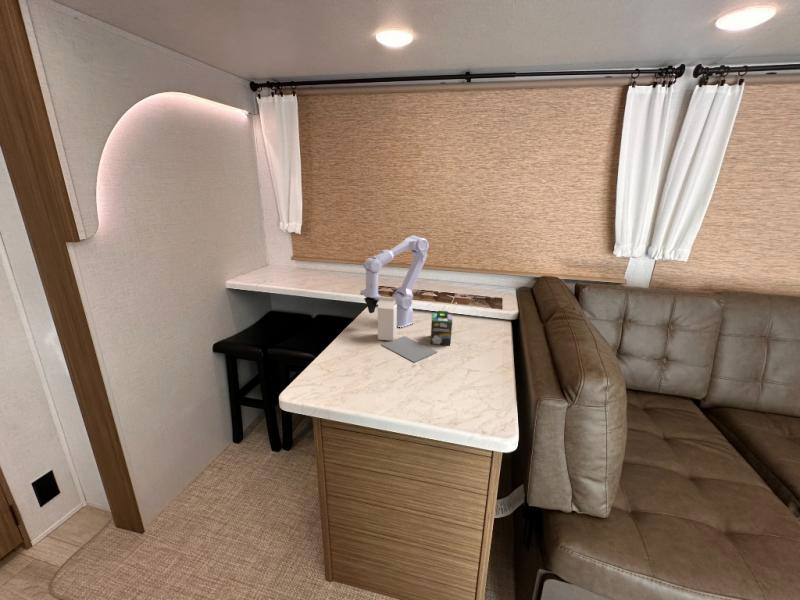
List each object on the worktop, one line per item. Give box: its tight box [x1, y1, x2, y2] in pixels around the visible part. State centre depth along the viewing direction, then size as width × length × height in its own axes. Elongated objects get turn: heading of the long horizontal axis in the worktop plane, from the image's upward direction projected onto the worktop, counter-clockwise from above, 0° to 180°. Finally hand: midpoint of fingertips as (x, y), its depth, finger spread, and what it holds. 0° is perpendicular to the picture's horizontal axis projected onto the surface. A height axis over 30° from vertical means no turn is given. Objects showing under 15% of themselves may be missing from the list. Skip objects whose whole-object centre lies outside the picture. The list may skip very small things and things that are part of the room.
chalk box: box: [429, 310, 453, 346], centre depth 157 cm, size 9×9×15 cm
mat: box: [381, 335, 438, 364], centre depth 150 cm, size 14×20×1 cm
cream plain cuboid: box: [377, 296, 398, 342], centre depth 157 cm, size 7×7×19 cm
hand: (371, 312), depth 165 cm, fingers closed
